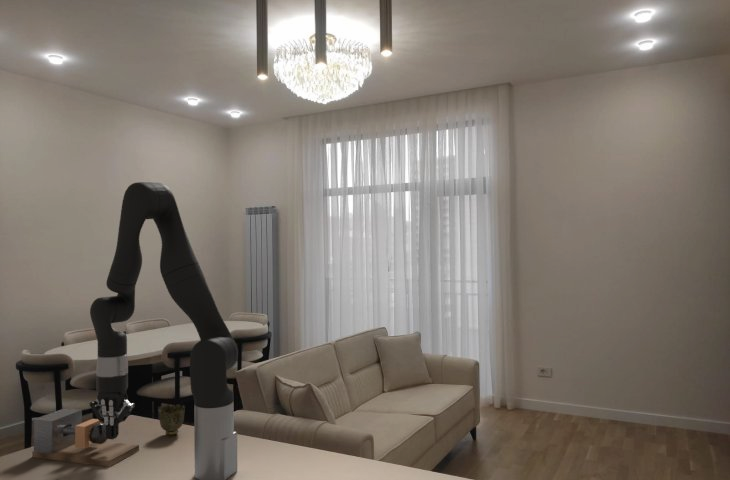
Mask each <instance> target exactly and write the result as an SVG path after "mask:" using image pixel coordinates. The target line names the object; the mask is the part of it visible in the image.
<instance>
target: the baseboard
mask: <svg viewBox="0 0 730 480" xmlns="http://www.w3.org/2000/svg"><path fill="white" fill-rule="evenodd" d="M139 451H140V445H139V444H132V443H131V444H130V443H122V442H115V441H113V442H112V441H107V440H106V441H105V442H104V443H103V444H96V443H92V442H91V441H89V447H87V448H77V447H75V444H73V445H71V446H68V447H66V448H64V449H62V450H60V451H57V452H55V453H53V454H49V453H41V452H34V450H32V453H31V455H32V458H35V457H36V458H37V459H44V460H51V461H52V460H53V461H60V462H67V463H77V464H82V465H83V464H84V465H93V466H99V467H107V468H108V467H112V466H114V465H115V464H117V463H119V462H121V461H123V460H125V459H127V458H128V457H130V456H132V455H134V454H136V453H137V452H139Z"/></svg>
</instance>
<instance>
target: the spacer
mask: <svg viewBox="0 0 730 480" xmlns="http://www.w3.org/2000/svg"><path fill="white" fill-rule="evenodd" d="M98 423H100V424H103V422H100V421H99V420H98V418H91V419H88V420H86V421H84V422H82V423H81V424H79V425H76V426H75V447H77V448H87V447H89V441H90V438H89V431H90V430H91V429H92V427H93V426H94V425H95V424H98Z"/></svg>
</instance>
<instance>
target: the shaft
mask: <svg viewBox="0 0 730 480" xmlns="http://www.w3.org/2000/svg"><path fill="white" fill-rule="evenodd" d="M63 433H64V434H70V435H75V427H71V426H66V427H64V429H63ZM89 438H90V441H91V442H92V443H96V444H103V443H104V442H105V441H106V442H107V440H108V439H107V437H106V425H105V423H102V424H100V423H98V424H95V425H94V426H93V427H92V429H91V430H90V431H89Z"/></svg>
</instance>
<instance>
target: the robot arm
mask: <svg viewBox="0 0 730 480" xmlns="http://www.w3.org/2000/svg"><path fill="white" fill-rule="evenodd" d="M146 220H153V222H154V223H155V226H156V227H157V230H158V232H159V235H160V241H161V251H160V261H159V271H160V275H161V277H162V280H163V282H164V284H165V287H166V289H167V292H168V294H169V296H170V298H171V299H172V301H174V303H175V305H177V306H178V308H179V309H181V311H182V312H183V313H184V314H185V315H186V316H187V317H188V318H189V319H190V321H191V322H192V324H193V325H194V328H195V329H196V331H197V334H198V338H199V340H200V341H199V340H198V342H196V343H195V344H194V345H193V347H192V349H191V351H190V356H189V378H190V391H191V394H192V396H193V401H194V404H193V405H194V409H193V412H194V420H193V421H194V423H193V424H194V429H193V430H194V478H195V479H196V480H227V479H228V478H230V477H231V476H233V475H234V474H235V473H236V472H237V471H238V432H237V431H235V428H234V427H235V426H234V425H235V424H234V423H235V422H234V421H235V420H234V418H235V417H234V416H235V415H234V410H235V409H234V408H235V406H234V405H235V404H234V400H235V399H234V398H235V397H234V396H235V395H234V390H233V389H232V388H231V387H229V386H228V381H227V377H228V376H227V371H228V370H230V369H231V368H233V367H234V366H235V365H236V363H237V361H238V357H239V349H238V346H237V343H236V341H235V339H234V337H233V335H232V334H231V332H230V330H229V328H228V326H227V324H226V323H225V321H224V319H223V317H222V316H221V313H220V311H219V309H218V306H217V304H216V301H215V299H214V297H213V295H212V292H211V290H210V288H209V285H208V283H207V281H206V277H205V275H204V273H203V270H202V267H201V266H200V263H199V261H198V259H197V256H196V255H195V253H194V249H193V248H192V244H191V243H190V239H189V237H188V235H187V232H186V229H185V226H184V224H183V221H182V217H181V214H180V211H179V207H178V203H177V201H176V198H175V195H174V193H173V191H172V190H171V188H169V187H168V185H166V184H164V183H161V182H148V181H147V182H145V181H144V182H142V181H139V182H134V183H132V184H130V185H128V187H127V188H126V190H125V191H124V194H123V198H122V202H121V209H120V219H119V224H118V232H117V242H116V248H115V253H114V257H113V260H112V262H111V266H110V269H109V272H108V275H107V279H106V287H107V289H109V291H111V292H113V293H117V294H116V295H115V296H102V297H101V296H100V297H98V298H96V299H94V301H92V303H91V305H90V309H89V315H90V319H91V323H92V326H93V329H94V332H95V337H96V341H97V359H96V382H95V383H96V386H95V387H96V390H95V391H96V392H97V395H96V399H95V400H93V401H90V403H89V407H90V409H91V411H92V412H93V413H94V416H95V417H96V419H98V420H99V421H100V422H102V423H103V424H105V425H106V437H107V440H115V439H117V438H118V436H119V430H120V429H119V424H120V423H122V422H125V421H126V420H127V419H128V417H129V416H130V415H131V413H132V412H133V410H134V409H135V407H136V404H135V403H134V402H132V403H131V402H130V401H129V399H128V398H129V396H128V394H127V390H128V388H129V361H128V337H127V334H126V333H125V332H123V331H117V330H114V329H113V327H112V324H115V323H116V324H117V323H123V322H126V321H128V320H130V319H131V318H132V316H133V314H134V313H135V309H136V308H135V307H136V285H137V282H138V279H139V277H140V273H141V270H142V266H143V254H142V250H141V244H140V234H141V231H142V228H143V226H144V223H145V221H146Z"/></svg>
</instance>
